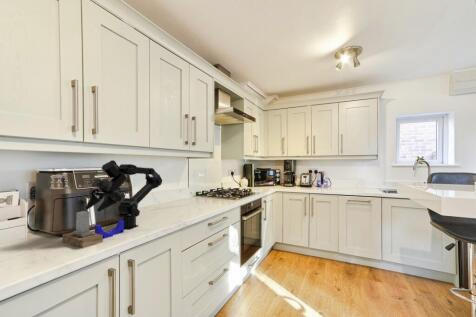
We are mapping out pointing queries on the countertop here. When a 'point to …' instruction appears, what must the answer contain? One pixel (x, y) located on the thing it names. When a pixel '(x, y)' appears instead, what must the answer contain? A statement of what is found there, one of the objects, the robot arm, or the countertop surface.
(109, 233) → the cable clip
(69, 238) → the rail
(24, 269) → the countertop surface
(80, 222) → the grey tower on plinth
